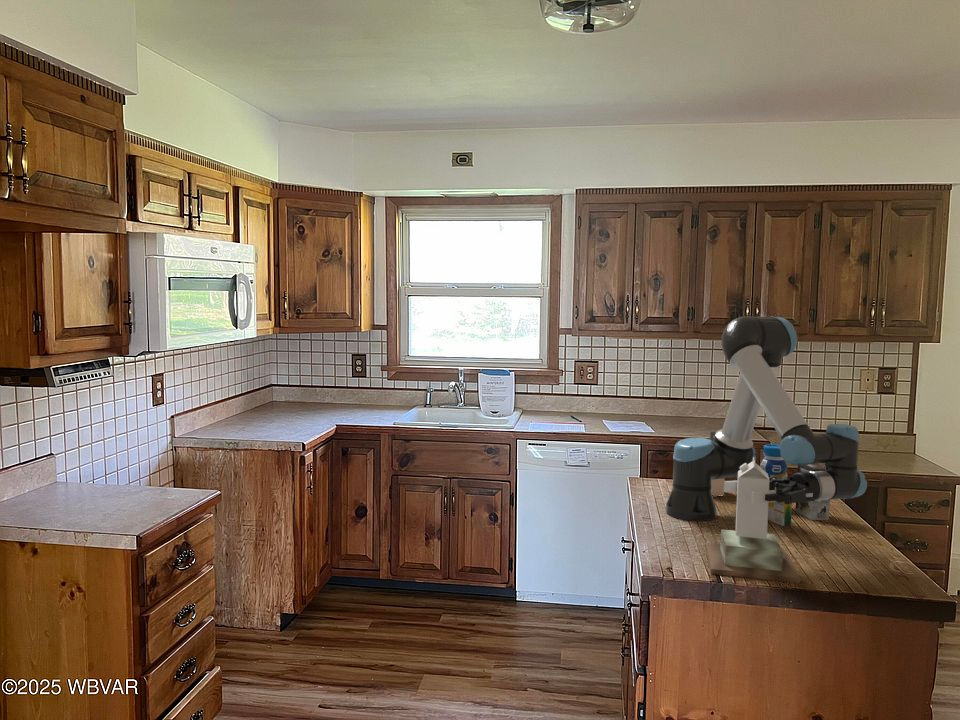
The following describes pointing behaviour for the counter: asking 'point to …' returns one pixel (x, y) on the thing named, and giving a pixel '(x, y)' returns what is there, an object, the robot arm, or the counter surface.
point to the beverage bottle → (773, 462)
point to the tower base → (750, 571)
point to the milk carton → (748, 514)
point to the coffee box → (813, 508)
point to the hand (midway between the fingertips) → (738, 492)
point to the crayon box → (780, 513)
